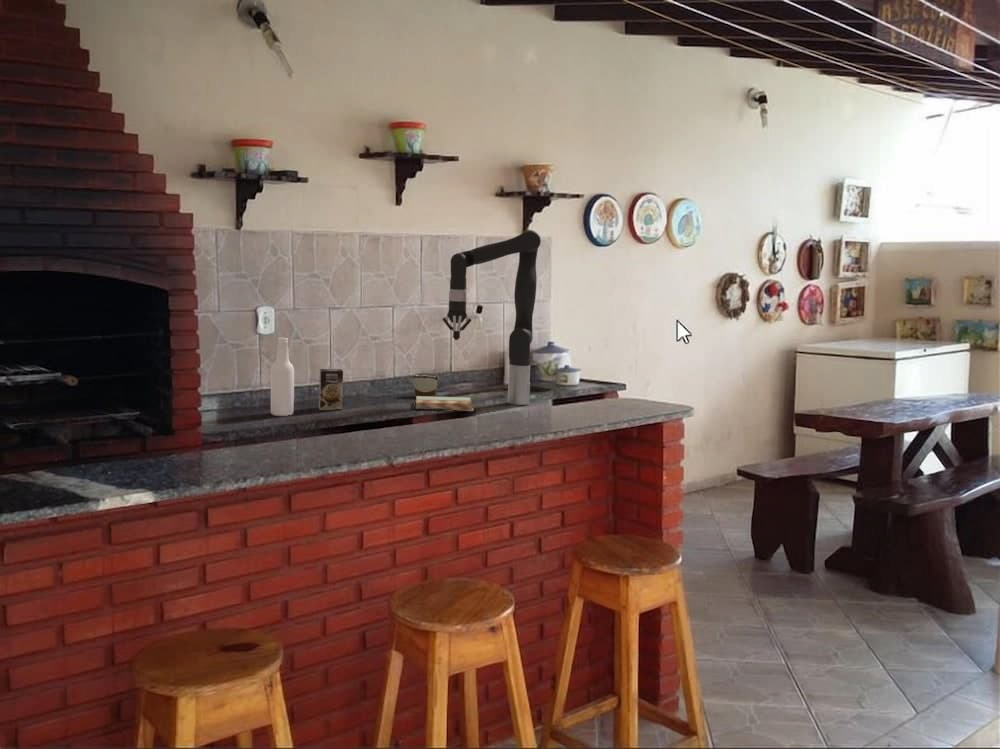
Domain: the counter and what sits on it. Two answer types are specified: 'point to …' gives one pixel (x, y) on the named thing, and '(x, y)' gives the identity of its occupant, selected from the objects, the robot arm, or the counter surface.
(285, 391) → the alcohol
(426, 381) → the food container
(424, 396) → the board
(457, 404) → the floor frame
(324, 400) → the coffee box
